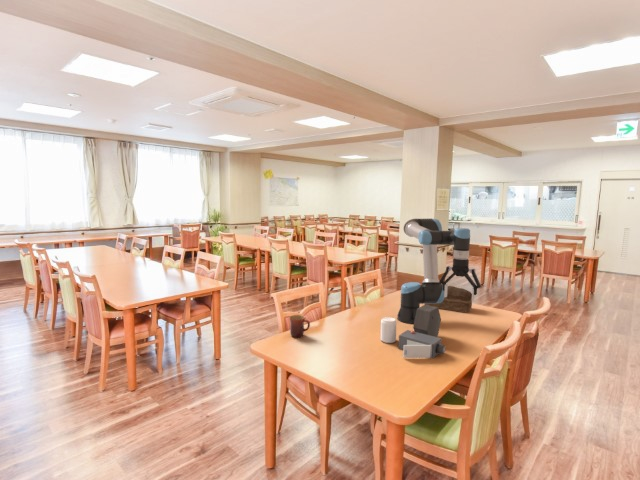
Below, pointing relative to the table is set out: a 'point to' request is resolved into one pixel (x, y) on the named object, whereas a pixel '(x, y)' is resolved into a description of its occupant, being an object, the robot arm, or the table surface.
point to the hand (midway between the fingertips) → (459, 298)
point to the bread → (456, 300)
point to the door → (417, 351)
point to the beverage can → (388, 330)
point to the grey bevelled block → (427, 320)
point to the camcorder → (421, 341)
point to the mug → (298, 325)
